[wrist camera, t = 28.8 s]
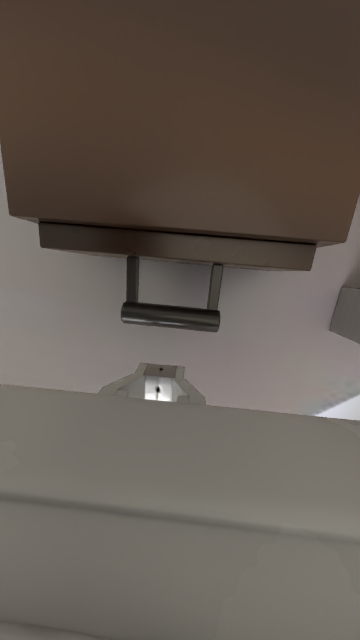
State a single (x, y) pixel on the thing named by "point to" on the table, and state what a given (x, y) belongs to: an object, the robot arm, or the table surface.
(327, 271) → the table surface
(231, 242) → the drawer
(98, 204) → the cabinet
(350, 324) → the grey block
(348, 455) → the robot arm
